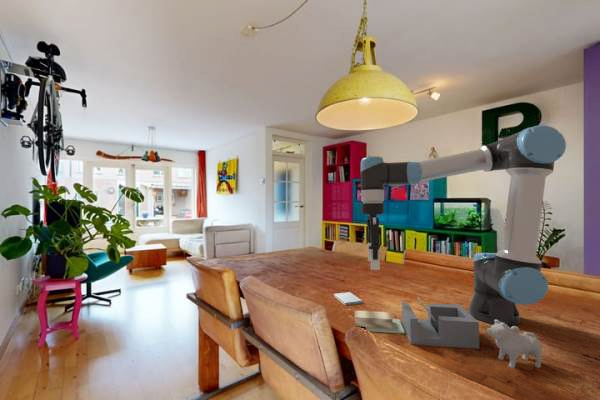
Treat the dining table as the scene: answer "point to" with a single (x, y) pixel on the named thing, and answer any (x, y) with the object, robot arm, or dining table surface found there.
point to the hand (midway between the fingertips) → (373, 265)
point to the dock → (442, 326)
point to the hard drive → (348, 298)
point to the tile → (373, 319)
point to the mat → (396, 328)
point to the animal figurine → (515, 343)
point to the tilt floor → (427, 310)
